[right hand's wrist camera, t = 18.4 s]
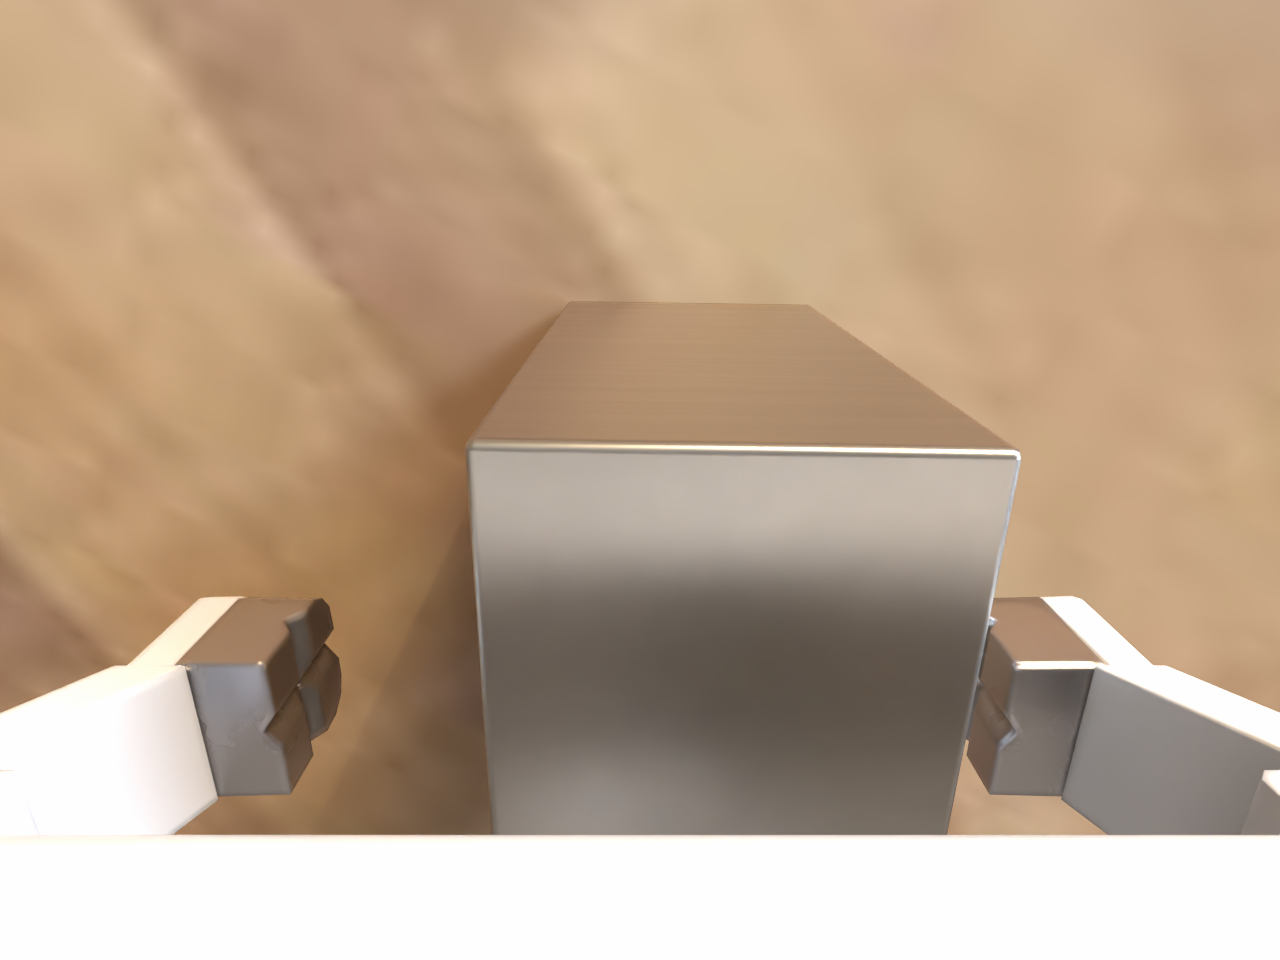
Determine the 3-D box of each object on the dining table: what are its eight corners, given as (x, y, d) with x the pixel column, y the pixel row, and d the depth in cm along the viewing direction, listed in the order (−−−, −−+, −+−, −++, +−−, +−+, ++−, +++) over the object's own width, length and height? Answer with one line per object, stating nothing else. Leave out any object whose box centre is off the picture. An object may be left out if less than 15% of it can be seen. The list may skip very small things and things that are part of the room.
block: (574, 655, 18) (506, 1079, 9) (567, 300, 15) (461, 441, 6) (779, 659, 18) (900, 1087, 9) (811, 304, 15) (1028, 449, 6)
